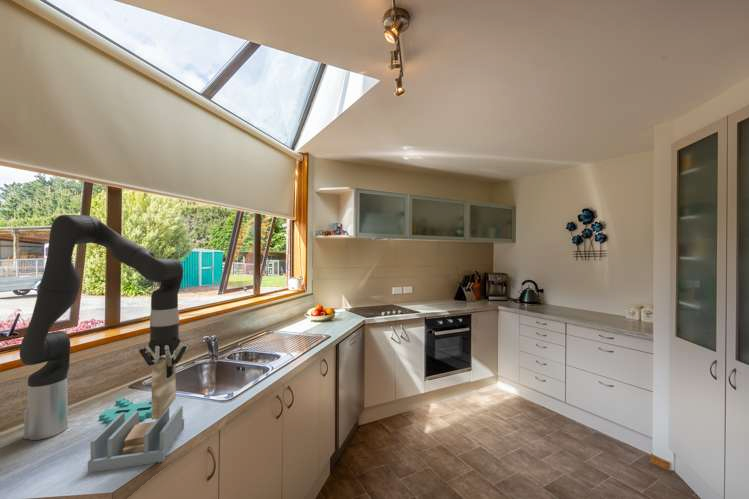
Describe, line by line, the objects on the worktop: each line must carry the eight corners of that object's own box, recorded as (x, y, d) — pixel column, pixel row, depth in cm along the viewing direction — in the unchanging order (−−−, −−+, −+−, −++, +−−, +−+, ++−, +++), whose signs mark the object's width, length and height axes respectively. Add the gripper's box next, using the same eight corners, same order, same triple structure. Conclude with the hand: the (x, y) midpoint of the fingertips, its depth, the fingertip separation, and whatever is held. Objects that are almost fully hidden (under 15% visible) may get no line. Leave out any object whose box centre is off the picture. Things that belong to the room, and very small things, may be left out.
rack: (87, 472, 86) (87, 443, 86) (122, 435, 104) (122, 411, 104) (162, 461, 91) (162, 434, 91) (184, 427, 108) (184, 404, 108)
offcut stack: (121, 463, 91) (121, 444, 91) (135, 439, 102) (135, 422, 102) (147, 457, 93) (147, 439, 93) (159, 435, 104) (159, 419, 104)
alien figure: (118, 404, 126) (87, 432, 106) (118, 398, 126) (87, 425, 106) (175, 397, 131) (155, 423, 112) (175, 392, 131) (155, 417, 112)
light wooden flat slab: (151, 419, 92) (151, 365, 92) (168, 399, 105) (168, 351, 105) (159, 418, 93) (159, 364, 93) (175, 398, 105) (175, 350, 105)
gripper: (133, 326, 93) (133, 384, 94) (185, 324, 97) (185, 380, 97) (144, 320, 101) (144, 374, 101) (192, 318, 104) (192, 370, 104)
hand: (164, 377), depth 99 cm, fingers closed on light wooden flat slab, 2 cm apart
